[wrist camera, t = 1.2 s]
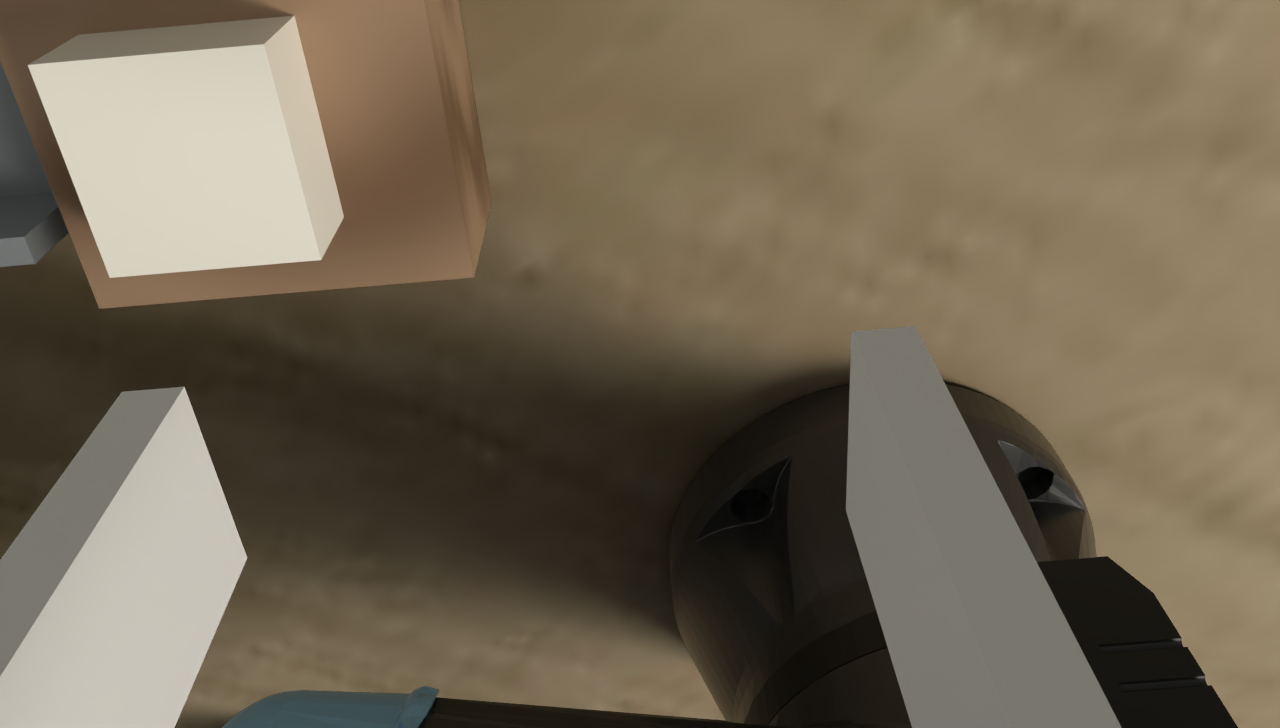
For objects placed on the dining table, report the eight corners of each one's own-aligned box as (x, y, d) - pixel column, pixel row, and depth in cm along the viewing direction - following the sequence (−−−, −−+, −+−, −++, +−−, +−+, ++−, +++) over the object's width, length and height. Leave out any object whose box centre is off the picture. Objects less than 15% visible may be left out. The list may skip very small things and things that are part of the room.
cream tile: (343, 216, 27) (321, 260, 24) (149, 233, 27) (109, 277, 24) (294, 15, 24) (263, 44, 22) (78, 34, 24) (27, 64, 22)
